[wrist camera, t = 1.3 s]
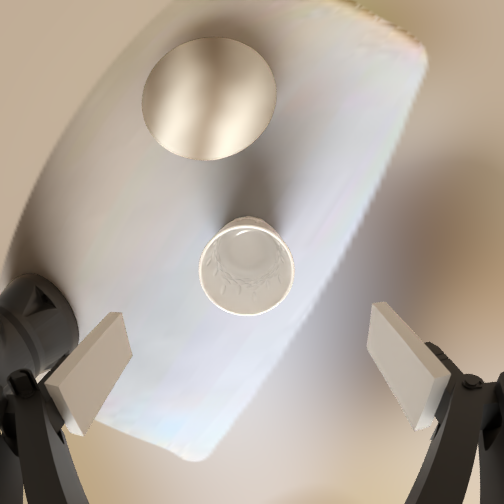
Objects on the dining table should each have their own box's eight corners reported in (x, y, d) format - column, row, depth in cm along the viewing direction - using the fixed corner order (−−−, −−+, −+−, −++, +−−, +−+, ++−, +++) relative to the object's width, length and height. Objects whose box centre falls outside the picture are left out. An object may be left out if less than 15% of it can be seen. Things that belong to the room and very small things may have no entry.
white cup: (213, 209, 33) (197, 223, 23) (284, 211, 33) (297, 226, 23) (213, 276, 35) (199, 314, 25) (280, 278, 35) (290, 317, 25)
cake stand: (160, 168, 32) (143, 166, 26) (158, 64, 29) (143, 47, 23) (275, 159, 32) (280, 155, 26) (269, 53, 28) (271, 33, 23)
